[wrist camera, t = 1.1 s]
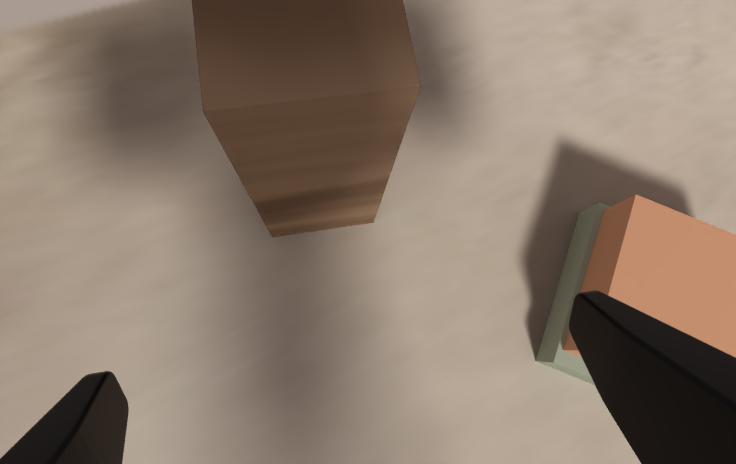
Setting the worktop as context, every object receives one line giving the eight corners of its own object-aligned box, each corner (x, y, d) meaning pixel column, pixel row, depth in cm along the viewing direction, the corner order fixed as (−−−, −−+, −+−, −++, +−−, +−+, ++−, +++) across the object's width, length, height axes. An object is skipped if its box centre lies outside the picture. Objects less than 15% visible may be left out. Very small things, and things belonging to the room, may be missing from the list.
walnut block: (373, 222, 24) (420, 86, 11) (272, 236, 23) (203, 111, 11) (357, 130, 25) (383, -89, 12) (260, 141, 24) (184, -75, 12)
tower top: (710, 411, 21) (760, 420, 19) (562, 350, 21) (592, 351, 19) (741, 266, 23) (789, 257, 20) (603, 210, 23) (635, 194, 20)
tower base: (683, 422, 23) (724, 432, 21) (530, 360, 24) (553, 362, 21) (716, 272, 25) (757, 264, 23) (574, 215, 25) (599, 201, 23)
